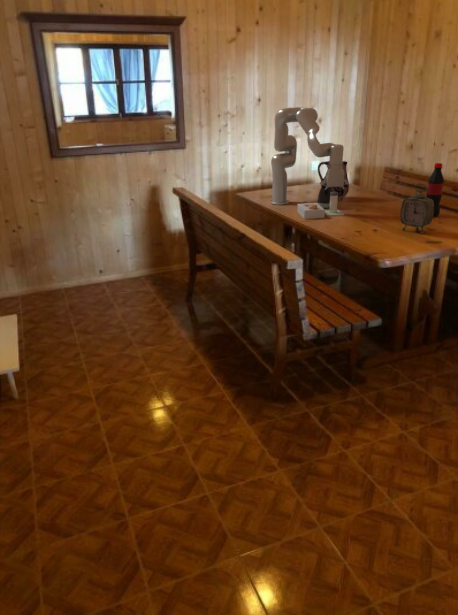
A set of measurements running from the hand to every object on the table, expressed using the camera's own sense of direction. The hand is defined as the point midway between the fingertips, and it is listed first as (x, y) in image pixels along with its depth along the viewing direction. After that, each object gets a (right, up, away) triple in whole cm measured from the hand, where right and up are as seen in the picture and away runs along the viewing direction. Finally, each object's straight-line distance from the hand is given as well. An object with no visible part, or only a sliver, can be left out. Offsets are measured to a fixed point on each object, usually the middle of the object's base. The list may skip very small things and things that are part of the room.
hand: (333, 195), depth 302 cm
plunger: (-13, -12, -2) cm, 18 cm away
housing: (-13, -11, +3) cm, 17 cm away
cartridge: (+1, -9, +4) cm, 10 cm away
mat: (+1, -10, +4) cm, 11 cm away
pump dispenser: (-1, -3, +20) cm, 20 cm away
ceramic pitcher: (+8, +6, +40) cm, 42 cm away
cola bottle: (+56, -13, -7) cm, 58 cm away
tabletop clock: (+36, -27, -35) cm, 57 cm away
